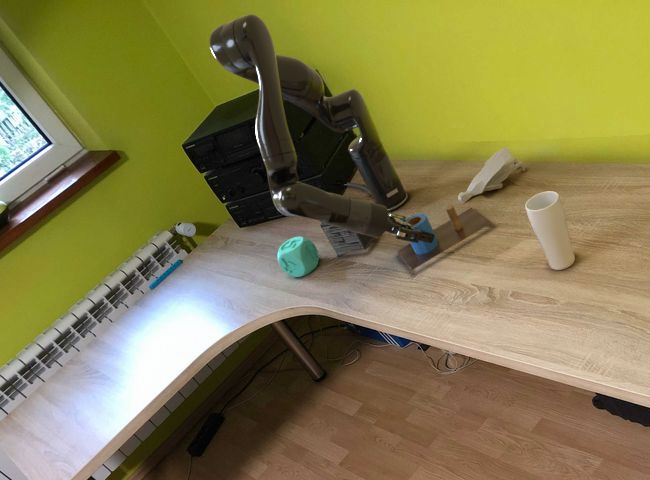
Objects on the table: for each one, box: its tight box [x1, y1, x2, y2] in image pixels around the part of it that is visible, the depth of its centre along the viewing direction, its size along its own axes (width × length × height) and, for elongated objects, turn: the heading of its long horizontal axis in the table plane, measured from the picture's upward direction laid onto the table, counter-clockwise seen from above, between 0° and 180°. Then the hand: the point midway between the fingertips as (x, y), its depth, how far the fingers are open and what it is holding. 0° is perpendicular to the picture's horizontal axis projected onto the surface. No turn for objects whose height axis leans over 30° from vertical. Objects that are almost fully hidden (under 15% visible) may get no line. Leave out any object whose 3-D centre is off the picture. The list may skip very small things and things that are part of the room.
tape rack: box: [396, 204, 492, 271], centre depth 154 cm, size 12×22×8 cm, turn 111°
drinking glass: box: [524, 190, 576, 271], centre depth 126 cm, size 7×7×15 cm
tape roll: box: [405, 213, 438, 255], centre depth 152 cm, size 6×6×8 cm
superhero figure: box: [457, 147, 526, 204], centre depth 164 cm, size 10×9×20 cm
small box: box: [319, 222, 375, 258], centre depth 169 cm, size 11×6×10 cm, turn 65°
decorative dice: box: [276, 236, 320, 278], centre depth 174 cm, size 8×8×8 cm
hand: (428, 233), depth 153 cm, fingers closed on tape roll, 6 cm apart
